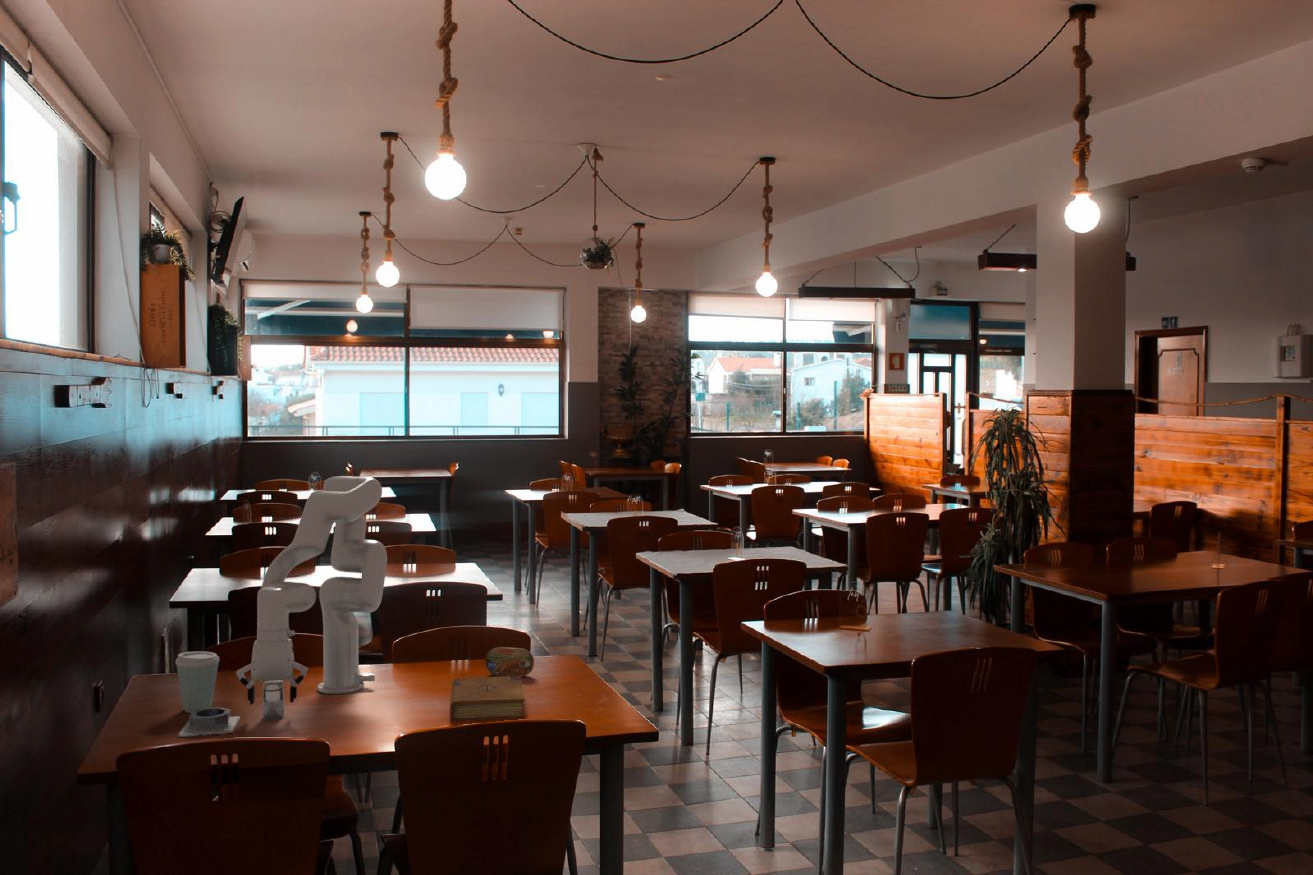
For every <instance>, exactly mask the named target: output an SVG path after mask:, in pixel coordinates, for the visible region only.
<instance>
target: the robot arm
mask: <svg viewBox="0 0 1313 875" xmlns="http://www.w3.org/2000/svg"><path fill="white" fill-rule="evenodd" d="M322 485H323V486H322V491H317V492H316V491H315V492H312V494H310V495H309V496H308V498H307V499H306V502H305V504H304V507H303V510H302V514H301V516H300V520H299V523H298V526H297V529H296V531H295V535H294V537H293V540H292V542H291V543H290V544H289V545H288V546H286V547H285V548H284V549H283V550H282V551H281V552H280V553H279V554H278V555H277V556H276V557H275V558H274V559H273V560H272V562H271V563H270V564H269V566H268V567H267V569H266V572H265V575H264V578H263V580H262V584H261V587H260V589H258V591H257V597H256V599H257V600H256V602H257V603H256V605H257V606H256V607H257V608H256V609H257V610H256V611H257V613H256V614H257V616H256V617H257V618H256V621H257V623H256V625H257V626H256V628H257V629H256V634H257V635H256V640H254V642H253V646H252V653H251V663H249V664H247V665H245V666H243V667H242V668H239V669H237V671H236V672H235V674H236V676H237V677H238V680H239V682H240V683H241V684H242V685H243V686H244V687H245V688H246V689H247V701H249V705H254V703H255V699H256V697H255V696H256V694H255V693H256V692H255V691H256V686H254V685H255V684H256V682H266V681H277V680H281V681H287V682H288V683H289V684H290V687H289V702H290V703H294V701H295V699H297V697H298V695H297V694H298V692H297V691H298V689H297V688H298V685H299V684H300V683H301V682H302V681H304V679H305V677H306V675H307V673H308V671H309V668H308V667H307V666H305V665H303V664H300V663H299V662H296V661H295V655H294V654H295V653H294V645H293V641H292V639H291V638H290V637H292V636H295V630H293V629H292V630H291V629H290V627H289V614H290V613H301V612H305V611H307V610H309V609H311V608H312V607H313V605H314V604H315V603H316V599H317V593H316V590H315V588H314V587H313V586H312V585H311V584H308V583H306V582H295V581H294V582H293V581H285V580H286V578H287V576H288V574H289V573H290V572H291V571H292V570H293V569H294V568H295V567H297V566H298V565H300V564H301V563H303V562H305V561H308V560H310V559H312V558H315V557H317V556H319V555H320V554H323V552H325V550H326V547H327V544H328V541H329V537H330V534H331V531H332V528H333V526H334V523H335V527H334V534H333V540H332V546H331V553H330V565H331V566H332V568H333V569H334V570H336V571H338V572H341V573H342V572H343V573H353V574H361V577H351V576H333V577H330V578H327V579H325V580H324V581H323V582H322V584H321V586H320V588H319V592H318V593H319V594H318V595H319V597H318V598H319V602H320V607H321V613H322V614H321V615H322V623H323V624H322V625H323V627H322V628H323V629H322V630H323V634H322V635H323V636H322V638H323V639H322V640H323V648H322V649H323V654H322V656H323V664H322V665H323V666H322V667H323V669H322V670H323V671H322V672H323V675H322V676H323V682H321V683H319V684H318V685H317V690H318V692H320V693H323V694H331V695H337V694H339V695H340V694H349V693H354V692H358V691H360V690H362V689H364V688H365V682H375V681H376V674H375V673H374V674H372V673H362V672H361V669H360V668H359V664H360V663H359V623H358V619H357V617H356V615H355V613H362V614H369V613H373V612H375V611H377V610H378V608H379V607H380V605H381V602H382V600H383V599H382V598H383V595H384V594H383V593H384V586H385V580H386V579H385V578H386V571H387V568H388V567H387V566H388V565H387V564H388V553H387V549H386V547H385V545H384V544H383V543H382V542H381V541H379V540H375V539H366V530H367V520H366V517H365V514H367V513H368V512H369V511H371V510H372V509H373V508H375V507H376V506H377V505H378V504H379V502H380V500H381V498H382V495H383V488H382V485H381V483H380V482H379V480H378V479H376V478H374V477H371V476H348V475H340V476H338V475H337V476H332V477H331V476H330V477H328V478H327V479H325V481H324V483H323V484H322ZM295 669H296V670H298V671H300V674H299V675H298V676H297V678H296V676H294V673H295ZM249 671H250V678H251V679H250V680H249V679H248V678H247V677H245V674H246V673H248V672H249Z"/></svg>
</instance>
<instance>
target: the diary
mask: <svg viewBox="0 0 1313 875" xmlns="http://www.w3.org/2000/svg"><path fill="white" fill-rule="evenodd" d="M449 703H450V705H449V713H450V714H449V720H450V721H451V723H452V722H453V723H454V722H468V721H467V720H475V721H491V720H494V721H496V720H514V719H515V720H517V719H525V713H524V705H523V703H525V693H524V688H523V681H522V677H521V676H484V677H483V676H480V677H459V678H458V677H457V678H454V679H453V680H452V682H451V692H450V702H449ZM483 719H485V720H483Z"/></svg>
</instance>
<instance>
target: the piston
mask: <svg viewBox="0 0 1313 875" xmlns="http://www.w3.org/2000/svg"><path fill="white" fill-rule="evenodd" d="M284 681H285V680H277V681H263V683H262V719H263V720H264V719H265V720H264V721H277V719H278V720H281V719H283V718H284V716H285V708H284V707H285V706H284V705H285V701H284V700H285V693H284V691H285V686H284V685H285V682H284Z"/></svg>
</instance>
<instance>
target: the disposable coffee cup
mask: <svg viewBox="0 0 1313 875" xmlns="http://www.w3.org/2000/svg"><path fill="white" fill-rule="evenodd" d="M220 660H221V659H220V656H218V654H217V653H215V652H211V651H199V650H198V651H185V652H180V653H179V654H177V658H176V659H175V665H176V669H177V676H178V682H179V688H180V695H181V696H180V697H181V702H182V707H183V709H184V711H185V713H190V714H191V713H192V712H193V711H197V710H201V709H204V708H212V705H213V700H214V694H215V687H216V682H217V675H218V670H219V668H218V667H219V664H220V663H219V662H220Z"/></svg>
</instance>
